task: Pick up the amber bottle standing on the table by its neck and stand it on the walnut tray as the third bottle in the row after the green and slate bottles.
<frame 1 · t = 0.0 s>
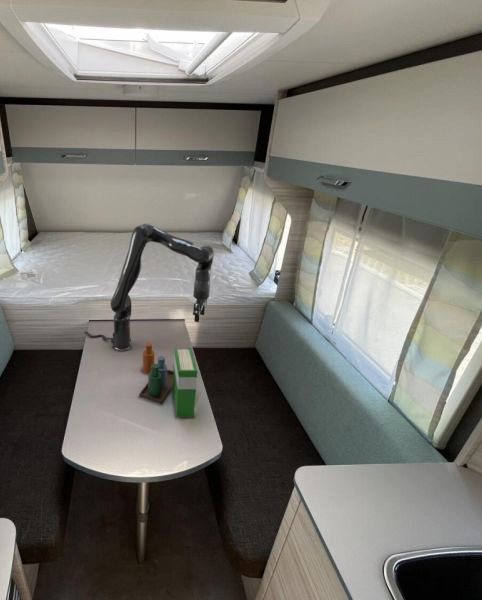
hand: (199, 318, 162), 29 cm above the table, tool pointing down, fingers open, 8 cm apart
amber bottle: (148, 370, 171), on the table
hardback book: (182, 403, 148), on the table
green bottle: (154, 394, 153), point 1 cm above the table, touching tray
tray: (160, 386, 159), on the table
slate bottle: (160, 385, 159), point 1 cm above the table, touching tray
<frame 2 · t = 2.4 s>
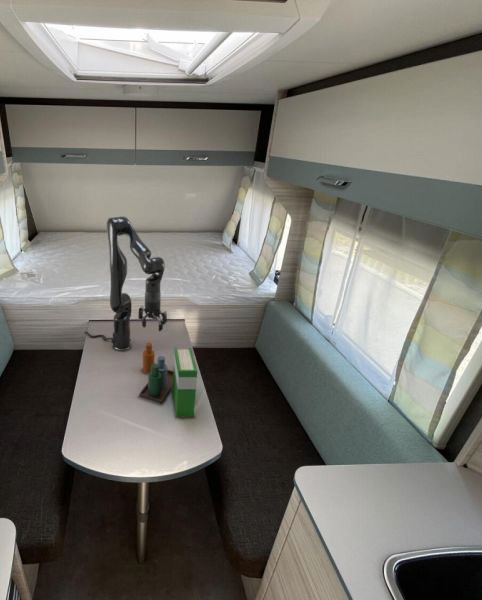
hand: (152, 328, 161), 25 cm above the table, tool pointing down, fingers open, 8 cm apart
nothing on the table moved.
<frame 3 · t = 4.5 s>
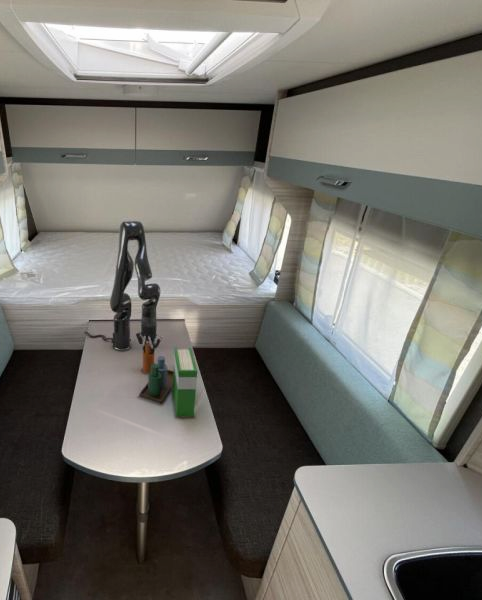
hand: (148, 352, 166), 11 cm above the table, tool pointing down, fingers closed on amber bottle, 3 cm apart
amber bottle: (148, 370, 171), on the table, touching gripper
everything else where it was.
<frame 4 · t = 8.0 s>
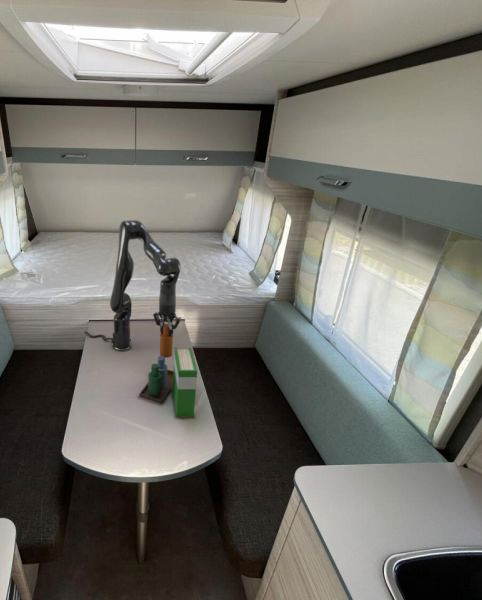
hand: (166, 334, 155), 25 cm above the table, tool pointing down, fingers closed on amber bottle, 3 cm apart
amber bottle: (165, 354, 159), point 14 cm above the table, touching gripper
everything else where it was.
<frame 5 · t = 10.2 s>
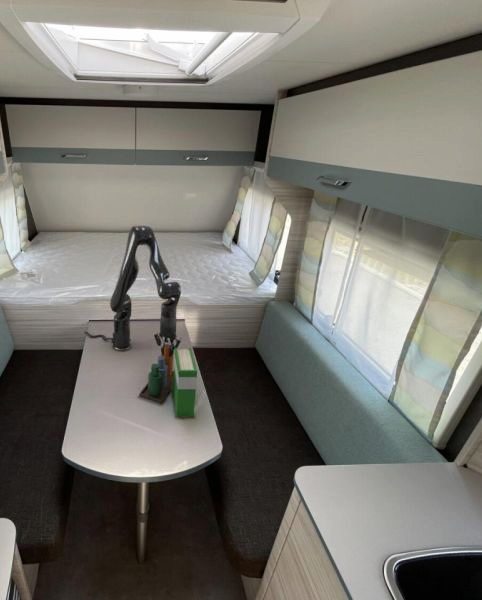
hand: (167, 354, 159), 14 cm above the table, tool pointing down, fingers closed on amber bottle, 3 cm apart
amber bottle: (166, 373, 163), point 3 cm above the table, touching gripper
everything else where it was.
when the fingers open (12 cm above the table, at t = 11.4 s): amber bottle stays where it is, resting on tray.
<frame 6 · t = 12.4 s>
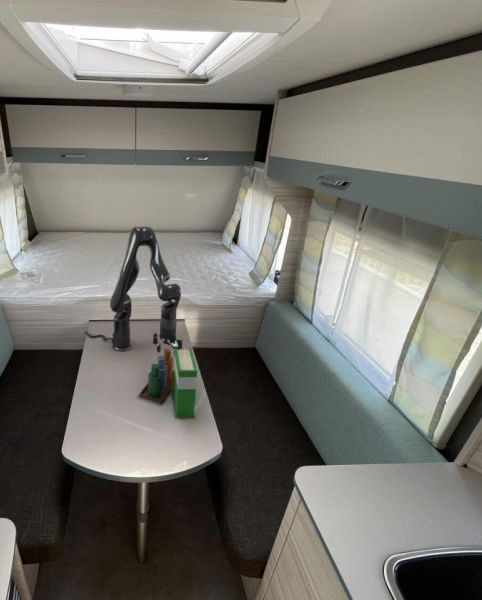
hand: (166, 354, 159), 15 cm above the table, tool pointing down, fingers open, 8 cm apart
amber bottle: (166, 377, 164), point 1 cm above the table, touching tray
everything else where it was.
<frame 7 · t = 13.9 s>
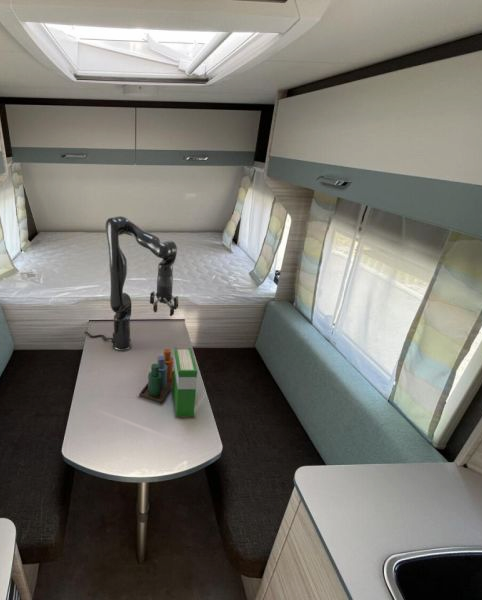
hand: (163, 313, 162), 31 cm above the table, tool pointing down, fingers open, 8 cm apart
nothing on the table moved.
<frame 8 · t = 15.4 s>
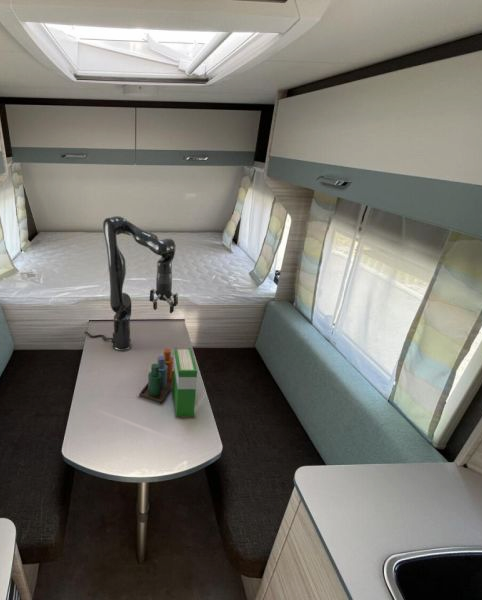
hand: (163, 311, 163), 32 cm above the table, tool pointing down, fingers open, 8 cm apart
nothing on the table moved.
at the end: amber bottle 0.1 cm from the target spot in the tray, point 0.6 cm above the tray's base; amber bottle tilted 0°; slate bottle moved 0.0 cm from its start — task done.
